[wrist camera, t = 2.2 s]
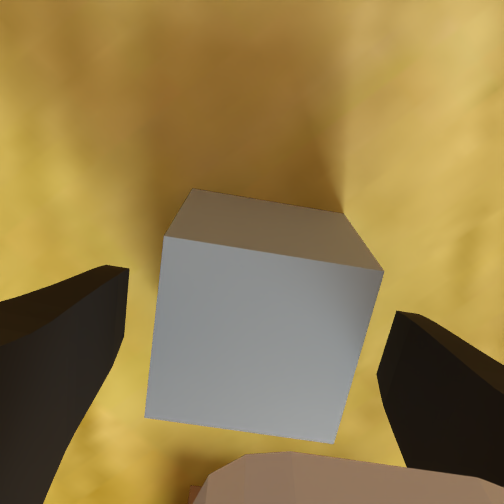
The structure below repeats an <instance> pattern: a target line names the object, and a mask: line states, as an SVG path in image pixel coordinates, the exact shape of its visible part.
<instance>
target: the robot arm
mask: <svg viewBox="0 0 504 504" xmlns="http://www.w3.org/2000/svg"><path fill="white" fill-rule="evenodd" d="M128 280H129V268H122V267H116V266H110V265H104V266H100V267H97V268H94V269H91V270H89V271H86V272H84V273H81V274H79V275H76V276H74V277H71V278H69V279H66V280H64V281H61V282H59V283H56V284H54V285H51V286H48V287H45V288H42V289H39V290H36V291H33V292H31V293H28V294H25V295H22V296H19V297H15V298H12V299H8V300H5V301H1V302H0V504H43V502H44V500H45V497H46V495H47V493H48V490H49V488H50V486H51V483H52V481H53V479H54V476H55V474H56V472H57V469H58V467H59V465H60V462H61V460H62V458H63V455H64V453H65V451H66V449H67V447H68V445H69V443H70V441H71V439H72V437H73V435H74V433H75V432H76V430H77V428H78V426H79V425H80V423H81V421H82V419H83V418H84V416H85V414H86V412H87V411H88V409H89V407H90V405H91V404H92V402H93V400H94V398H95V397H96V395H97V393H98V391H99V389H100V388H101V386H102V384H103V382H104V381H105V379H106V377H107V375H108V373H109V372H110V370H111V368H112V366H113V363H114V361H115V358H116V356H117V354H118V351H119V348H120V346H121V343H122V340H123V338H124V330H125V318H126V305H127V293H128ZM377 379H378V384H379V389H380V394H381V398H382V402H383V406H384V409H385V412H386V415H387V417H388V420H389V422H390V425H391V428H392V430H393V433H394V436H395V438H396V441H397V443H398V446H399V448H400V451H401V454H402V456H403V459H404V461H405V464H406V466H407V468H406V467H399V466H391V465H384V464H377V463H370V462H363V461H356V460H349V459H341V458H334V457H327V456H320V455H313V454H306V453H298V452H291V451H290V452H274V453H259V454H246V455H244V456H242V457H240V458H238V459H236V460H234V461H233V462H231V463H229V464H227V465H225V466H224V467H222V468H220V469H218V470H216V471H214V472H213V473H211V474H209V475H208V477H207V479H206V481H205V483H204V484H203V486H202V488H201V490H200V492H199V493H198V495H197V497H196V499H195V500H194V502H193V504H504V365H502V364H501V363H499V362H497V361H496V360H494V359H492V358H491V357H489V356H488V355H486V354H484V353H483V352H481V351H480V350H478V349H476V348H475V347H473V346H472V345H470V344H469V343H467V342H465V341H464V340H462V339H461V338H459V337H458V336H456V335H455V334H453V333H451V332H450V331H448V330H447V329H445V328H444V327H442V326H440V325H439V324H437V323H435V322H434V321H432V320H430V319H428V318H426V317H424V316H422V315H419V314H414V313H408V312H402V311H396V314H395V317H394V320H393V324H392V327H391V330H390V333H389V336H388V339H387V343H386V346H385V349H384V352H383V355H382V358H381V362H380V365H379V368H378V371H377Z"/></svg>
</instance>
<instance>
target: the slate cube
mask: <svg viewBox="0 0 504 504" xmlns="http://www.w3.org/2000/svg"><path fill="white" fill-rule="evenodd" d="M383 274H384V270H383V269H382V267H381V266H380V265H379V263H378V262H377V260H376V259H375V257H374V256H373V255H372V253H371V252H370V250H369V249H368V247H367V246H366V245H365V243H364V242H363V240H362V239H361V237H360V236H359V235H358V233H357V232H356V230H355V229H354V228H353V226H352V225H351V223H350V222H349V220H348V219H347V218H346V216H345V215H344V214H343V213H337V212H331V211H325V210H319V209H313V208H307V207H301V206H295V205H289V204H283V203H277V202H271V201H265V200H259V199H253V198H247V197H241V196H235V195H229V194H223V193H217V192H211V191H205V190H199V189H193V188H192V190H191V192H190V193H189V195H188V197H187V198H186V200H185V202H184V203H183V205H182V207H181V208H180V210H179V212H178V213H177V215H176V217H175V218H174V220H173V222H172V223H171V225H170V227H169V228H168V230H167V232H166V233H165V235H164V240H163V250H162V259H161V268H160V277H159V287H158V296H157V305H156V315H155V324H154V333H153V342H152V352H151V361H150V370H149V379H148V389H147V398H146V407H145V417H144V418H151V419H158V420H165V421H172V422H179V423H186V424H194V425H201V426H208V427H215V428H222V429H230V430H237V431H244V432H251V433H258V434H266V435H273V436H280V437H287V438H294V439H302V440H309V441H316V442H323V443H330V444H334V441H335V438H336V434H337V431H338V427H339V424H340V421H341V417H342V414H343V410H344V407H345V404H346V400H347V397H348V393H349V390H350V387H351V383H352V380H353V376H354V373H355V370H356V366H357V363H358V359H359V356H360V353H361V349H362V346H363V342H364V339H365V336H366V332H367V329H368V325H369V322H370V319H371V315H372V312H373V308H374V305H375V302H376V298H377V295H378V291H379V288H380V285H381V281H382V278H383Z"/></svg>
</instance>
